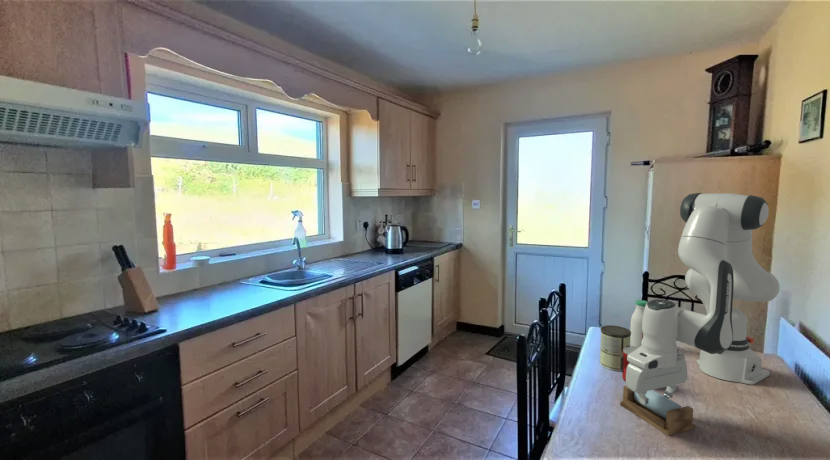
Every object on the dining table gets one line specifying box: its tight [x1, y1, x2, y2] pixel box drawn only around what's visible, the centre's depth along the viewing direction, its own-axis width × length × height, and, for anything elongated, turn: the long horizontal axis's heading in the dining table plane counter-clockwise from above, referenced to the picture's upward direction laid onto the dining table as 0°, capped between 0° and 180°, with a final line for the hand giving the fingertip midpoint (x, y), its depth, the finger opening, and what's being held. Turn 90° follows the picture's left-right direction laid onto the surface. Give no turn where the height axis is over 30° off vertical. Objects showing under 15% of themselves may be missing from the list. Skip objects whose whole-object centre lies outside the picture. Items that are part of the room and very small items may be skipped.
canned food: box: [621, 346, 637, 383], centre depth 133 cm, size 8×8×11 cm
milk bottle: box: [629, 299, 648, 348], centre depth 162 cm, size 8×8×20 cm
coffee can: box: [599, 325, 631, 372], centre depth 145 cm, size 10×10×14 cm
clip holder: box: [619, 385, 696, 437], centre depth 113 cm, size 10×16×6 cm, turn 18°
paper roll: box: [634, 390, 682, 419], centre depth 113 cm, size 6×11×6 cm, turn 18°
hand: (656, 400), depth 112 cm, fingers open, 8 cm apart
